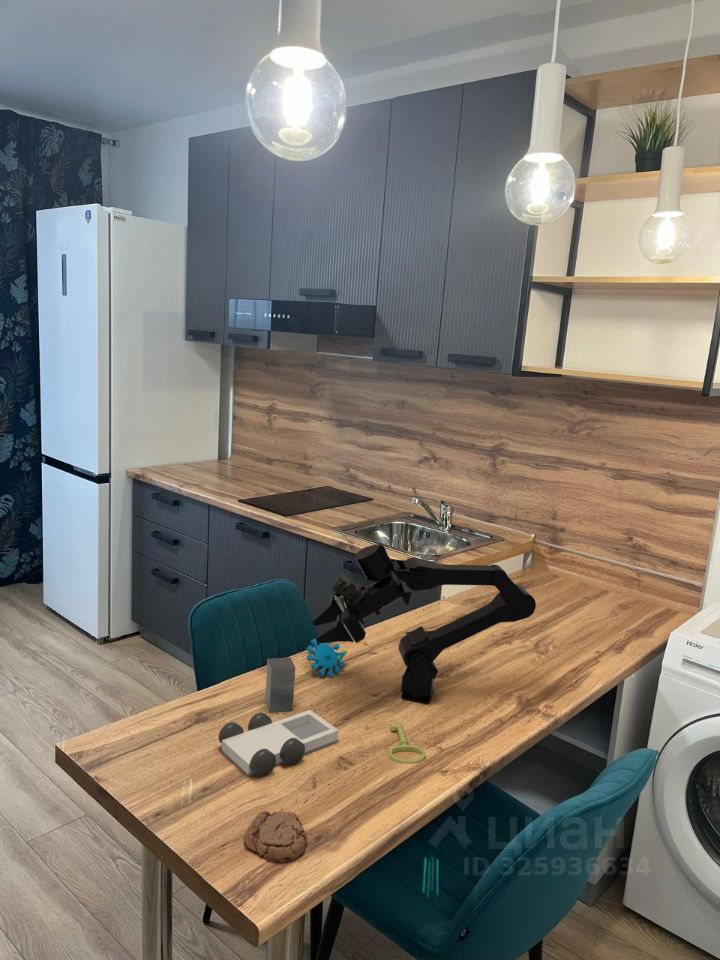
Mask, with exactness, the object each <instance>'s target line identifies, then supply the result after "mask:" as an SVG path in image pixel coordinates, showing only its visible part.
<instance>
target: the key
mask: <svg viewBox="0 0 720 960" xmlns="http://www.w3.org/2000/svg"><path fill="white" fill-rule="evenodd" d="M402 723H403V722H401V721H397V723H389V725H388V726H389V729H390V730H397V733H398V738H399V741H400V742H399V745H394V746H392V747H390V749H389V751H388V753H387V754H388V758H389V759H390V760H391V761H393V762H396V763H398V764H399V763H400V764H405V765H406V764H407V765H409V764H410V765H411V764H412V765H413V764H414V765H415V764H420V763H422V762H424V761H425V760H426V757H427V756H426V751H425V750H424V749H423V748H421V747H420V746H417V745H410V742H409V741H408V740H407V738H406V735H405V730H404V727H403V724H402ZM400 752H411V753H418V754H419V755H420V756H419V757H416V758H412V759H408V758H407V759H406V758H400V757H398V756H396V755H394V754H395V753H400Z"/></svg>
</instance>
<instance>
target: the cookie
mask: <svg viewBox="0 0 720 960" xmlns="http://www.w3.org/2000/svg"><path fill="white" fill-rule="evenodd" d="M243 841H244V843H245V844H246V845H245V846H246V847H247V849H248V850H251V851H252V852H254V853H256V854H257V857H258V858H262V859H263V860H265V861H268V862H271V861H274V862H278V863H281V864H284V863H287V862H290V861H291V862H293V861H295V860H297V859H298V858H299V857H301V855H303V854H304V852H305V850H306V844H307V842H308V835H307V832H306V831H305V829H304V827H303V822H302V820H300V819H299V816H298V815H297V814H296V813H294V812H291V811H284V810H283V811H282V810H279V811H273V812H272V813H271V812H270V811H268V810H262V811H260V812H259V813H257V814H256V815H255V817H254V818H253V819H252V821H251V822H250V824H249V826H248V827H247V829H246V831H245V833H244V835H243Z"/></svg>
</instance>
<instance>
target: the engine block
mask: <svg viewBox="0 0 720 960" xmlns="http://www.w3.org/2000/svg"><path fill="white" fill-rule="evenodd" d="M266 660H267V661H266V662H267V663H266V664H267V665H266V684H265V705H266V709H267V711H268V714H279V712H281V713H291V711H293V710H294V709H293V708H294V693H295V679H296V678H295V677H296V666H295V664H294V662H293V660H292V657H279V658H278V657H276V658H275V657H274V658H267V659H266Z"/></svg>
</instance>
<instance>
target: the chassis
mask: <svg viewBox="0 0 720 960" xmlns="http://www.w3.org/2000/svg"><path fill="white" fill-rule="evenodd" d="M248 721H249V722H248V725H247V731H245V730H244V728H243V727H242V726H241V725H240V724H238V722H235V721H230V722H228V723H225V725H223V727H222V728H221V729H220V731H219V732H218V733H219V734H218V741H219V743H220V745H221V754H223V755H224V756H225V757H226V758H227V759H228V760H230V761H231V763H233V764H234V765H235V766H236V767H237V768H238V769H239V770H240V771H241V772H242V773H243V774H245V776H246V777H248V778H249V777H252V776H254V775H255V776H256V777H258V778H265V777H267V776H268V775H270V774H271V773H272V772H273V770H274V769H275V767H277V766H279V765H280V766H281V765H282V764H286V765H287V766H291V767H292V766H295V765H297V764H298V763H299V762H301V760H302V759H303V757H304V755H307V754H309V753H313V752H315V751H318V750H321V749H323V748H326V747H328V746H330V745H332V744H333V745H334V744H335V743H337V742H339V729H337V727H335V726H334V725H332V724H331V723H329V722H328V721H326V720H325V719H324V718H322V717H321V716H319V715H318V714H317V713H315V712H314V711H313V710H311V709H308V710H305V711H303V712H300V713H297V714H294V715H291V716H288V717H286V718H282V719H279V720H277V721H274V722H273V720H272V718H271V717H270V716H269V715H267V714H266V713H264V712H258V713H255V714H254V715H253V716H252V717H251V718H250V720H248Z"/></svg>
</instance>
